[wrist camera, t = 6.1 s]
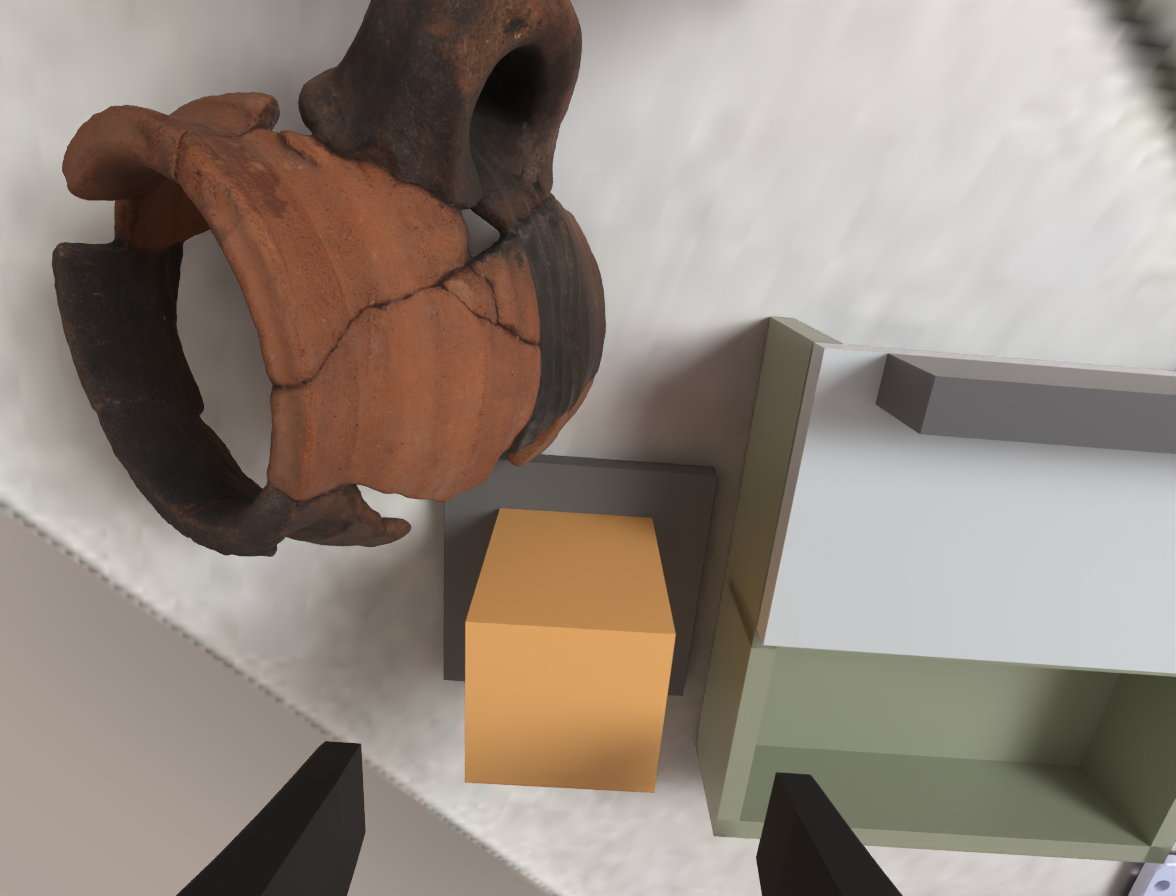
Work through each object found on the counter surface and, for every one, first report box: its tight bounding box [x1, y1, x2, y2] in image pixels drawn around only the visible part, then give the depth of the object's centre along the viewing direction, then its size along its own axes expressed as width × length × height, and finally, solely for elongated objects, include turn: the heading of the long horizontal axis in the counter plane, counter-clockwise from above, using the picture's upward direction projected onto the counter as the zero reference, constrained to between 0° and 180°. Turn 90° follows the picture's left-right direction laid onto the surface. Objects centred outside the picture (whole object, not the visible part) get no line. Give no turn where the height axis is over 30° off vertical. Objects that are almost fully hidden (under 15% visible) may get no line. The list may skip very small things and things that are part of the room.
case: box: [696, 317, 1176, 864], centre depth 17 cm, size 13×12×3 cm
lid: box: [757, 342, 1176, 674], centre depth 13 cm, size 7×12×2 cm, turn 85°
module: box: [465, 508, 676, 793], centre depth 15 cm, size 4×4×5 cm
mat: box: [444, 452, 718, 696], centre depth 18 cm, size 7×7×1 cm
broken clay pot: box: [52, 0, 606, 557], centre depth 13 cm, size 12×10×8 cm
